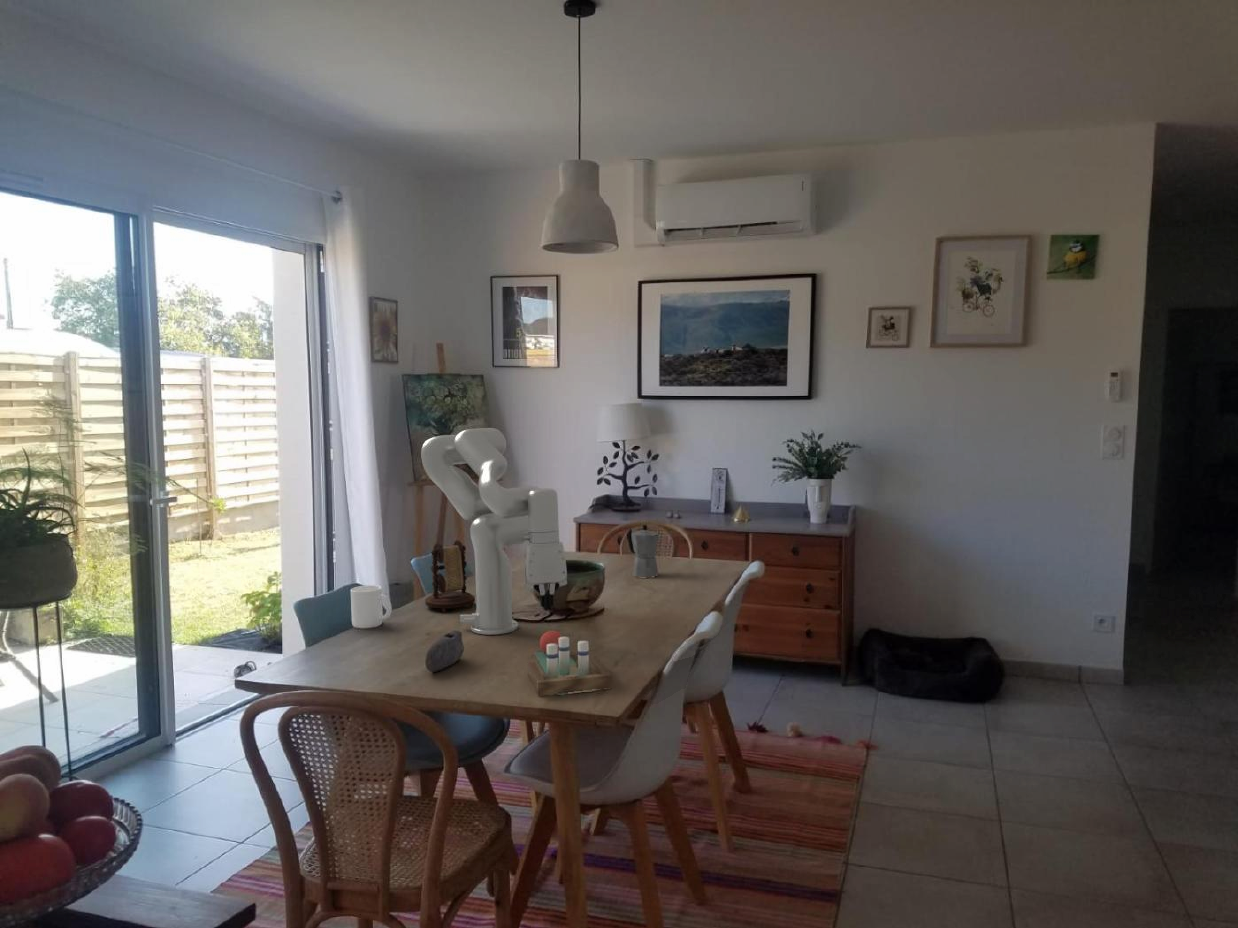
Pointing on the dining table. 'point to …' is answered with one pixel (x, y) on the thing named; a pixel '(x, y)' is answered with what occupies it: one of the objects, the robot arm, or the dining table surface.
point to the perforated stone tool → (445, 651)
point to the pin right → (583, 658)
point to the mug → (368, 606)
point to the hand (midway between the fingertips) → (547, 609)
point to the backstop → (571, 680)
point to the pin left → (552, 661)
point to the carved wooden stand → (449, 578)
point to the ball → (549, 640)
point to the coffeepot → (643, 551)
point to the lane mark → (543, 661)
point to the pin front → (564, 656)
